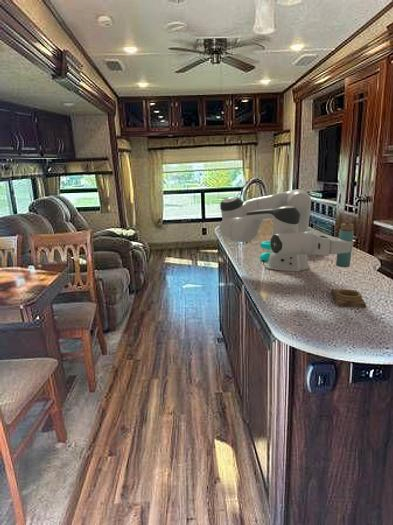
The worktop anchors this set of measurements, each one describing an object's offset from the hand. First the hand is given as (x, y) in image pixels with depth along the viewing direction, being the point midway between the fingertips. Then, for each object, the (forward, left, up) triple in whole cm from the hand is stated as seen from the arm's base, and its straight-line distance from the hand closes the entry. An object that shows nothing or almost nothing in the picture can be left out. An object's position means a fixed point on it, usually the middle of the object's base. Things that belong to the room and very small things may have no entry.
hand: (347, 241), depth 135 cm
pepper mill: (-1, 0, -9) cm, 10 cm away
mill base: (+1, -5, -22) cm, 22 cm away
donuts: (-29, +53, -22) cm, 64 cm away
